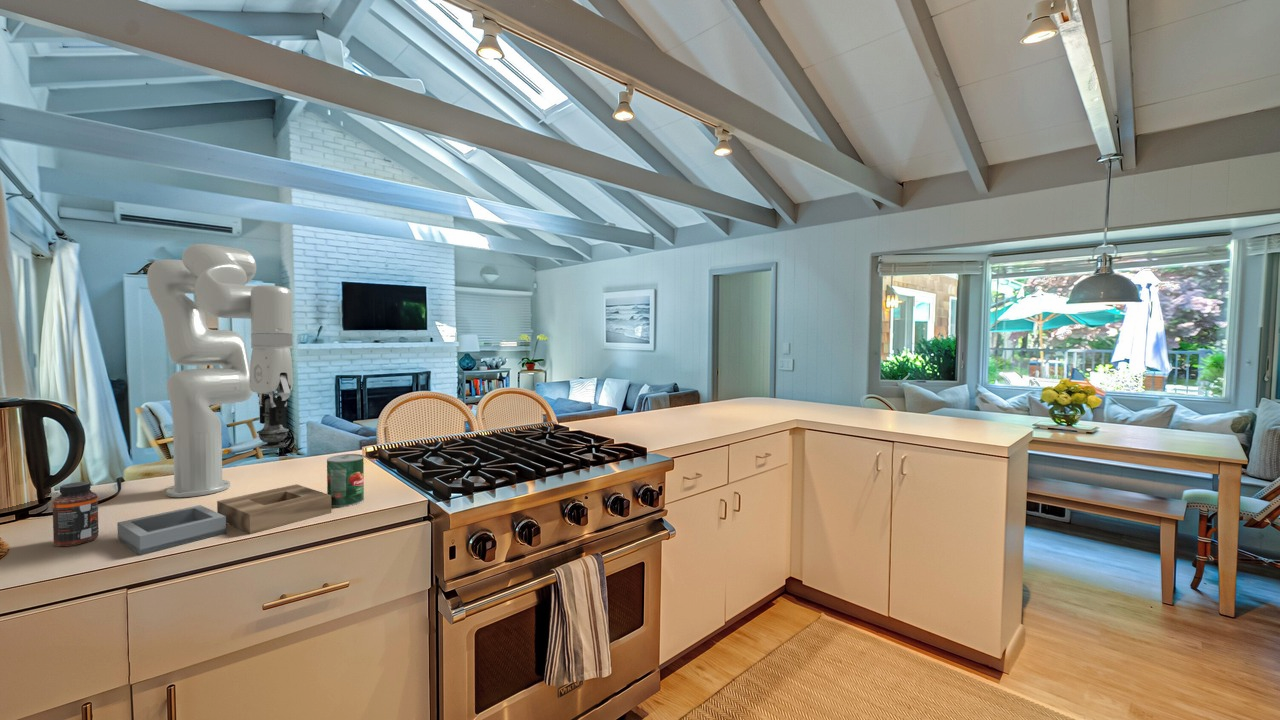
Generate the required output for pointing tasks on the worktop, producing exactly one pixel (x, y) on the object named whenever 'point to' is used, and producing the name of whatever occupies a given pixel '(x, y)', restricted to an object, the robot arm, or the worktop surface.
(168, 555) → the worktop surface
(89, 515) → the supplement bottle
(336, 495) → the canned tomato
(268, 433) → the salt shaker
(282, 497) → the socket block
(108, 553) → the worktop surface
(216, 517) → the tray
